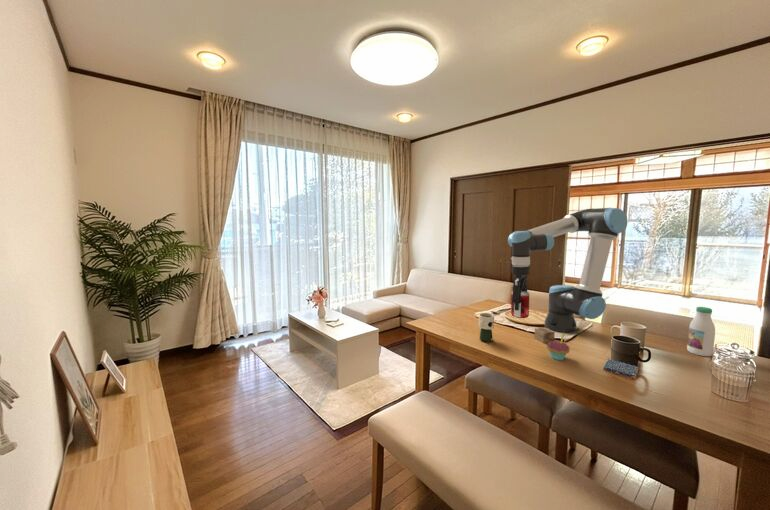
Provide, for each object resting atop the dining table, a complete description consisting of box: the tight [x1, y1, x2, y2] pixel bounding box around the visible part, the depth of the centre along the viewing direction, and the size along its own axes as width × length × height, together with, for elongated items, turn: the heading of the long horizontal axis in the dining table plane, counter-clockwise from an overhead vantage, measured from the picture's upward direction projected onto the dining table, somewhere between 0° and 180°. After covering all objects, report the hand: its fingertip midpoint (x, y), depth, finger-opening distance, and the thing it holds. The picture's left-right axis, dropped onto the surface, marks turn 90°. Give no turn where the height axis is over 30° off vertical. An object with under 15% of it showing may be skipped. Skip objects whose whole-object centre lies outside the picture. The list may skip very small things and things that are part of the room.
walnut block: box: [534, 327, 555, 344], centre depth 147 cm, size 6×6×5 cm
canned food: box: [510, 290, 530, 319], centre depth 138 cm, size 8×8×11 cm
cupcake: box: [545, 332, 571, 361], centre depth 128 cm, size 9×8×12 cm
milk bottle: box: [686, 306, 716, 357], centre depth 128 cm, size 8×8×20 cm
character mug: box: [478, 312, 495, 342], centre depth 148 cm, size 11×7×13 cm, turn 136°
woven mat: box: [601, 358, 639, 380], centre depth 118 cm, size 10×11×2 cm
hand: (519, 313), depth 138 cm, fingers closed on canned food, 8 cm apart
